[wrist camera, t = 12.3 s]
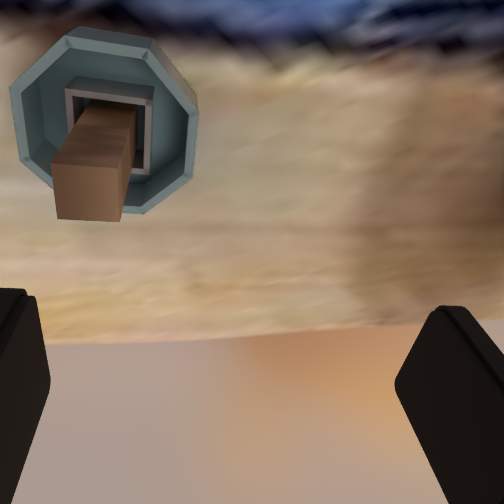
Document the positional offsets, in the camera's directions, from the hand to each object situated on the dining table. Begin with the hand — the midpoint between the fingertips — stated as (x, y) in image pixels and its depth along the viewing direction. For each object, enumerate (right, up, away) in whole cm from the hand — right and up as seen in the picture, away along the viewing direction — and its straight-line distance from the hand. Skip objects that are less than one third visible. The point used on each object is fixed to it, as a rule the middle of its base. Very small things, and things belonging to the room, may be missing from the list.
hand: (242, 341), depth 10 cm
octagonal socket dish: (-10, +12, +20) cm, 26 cm away
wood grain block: (-10, +12, +20) cm, 25 cm away
